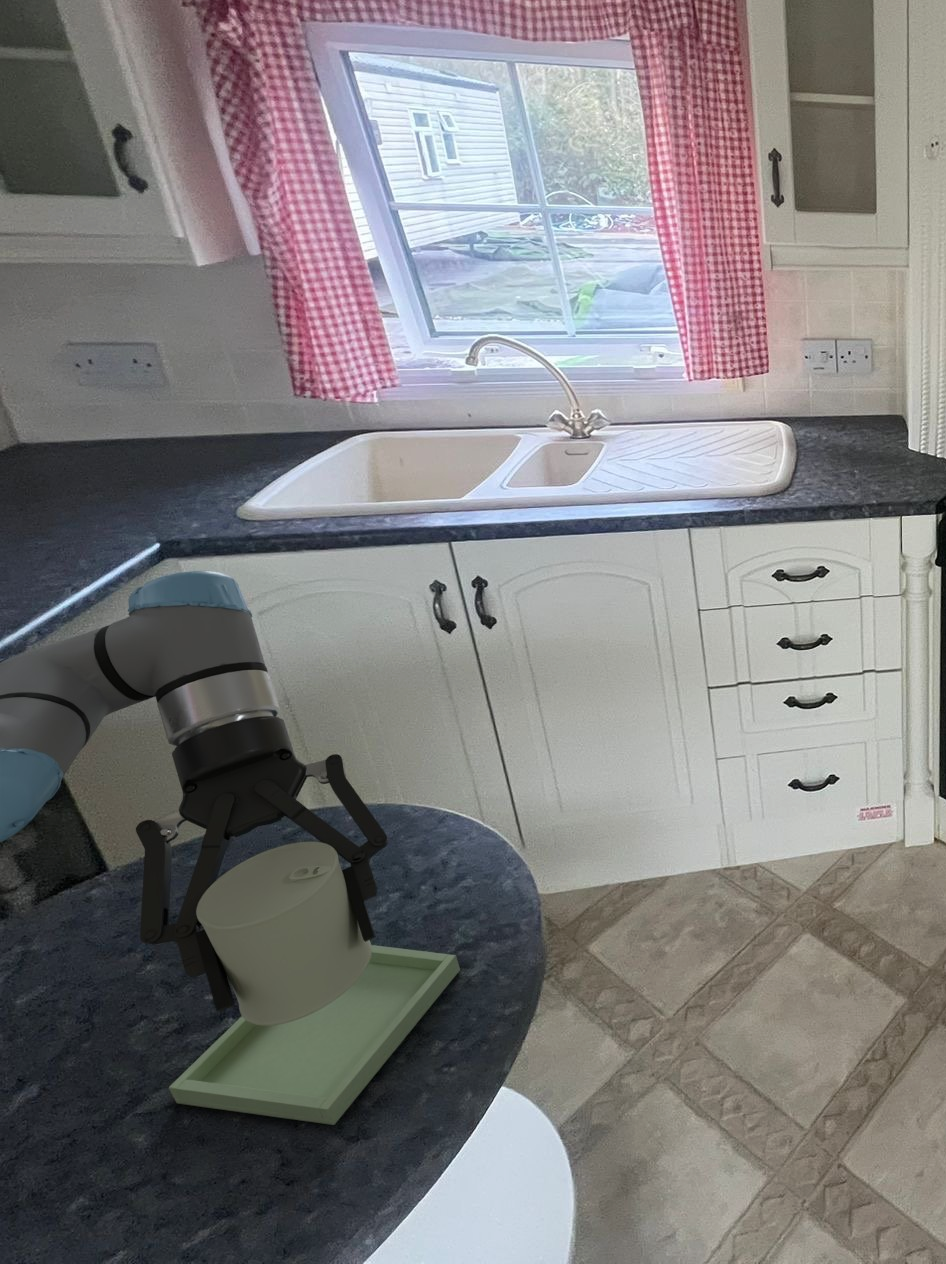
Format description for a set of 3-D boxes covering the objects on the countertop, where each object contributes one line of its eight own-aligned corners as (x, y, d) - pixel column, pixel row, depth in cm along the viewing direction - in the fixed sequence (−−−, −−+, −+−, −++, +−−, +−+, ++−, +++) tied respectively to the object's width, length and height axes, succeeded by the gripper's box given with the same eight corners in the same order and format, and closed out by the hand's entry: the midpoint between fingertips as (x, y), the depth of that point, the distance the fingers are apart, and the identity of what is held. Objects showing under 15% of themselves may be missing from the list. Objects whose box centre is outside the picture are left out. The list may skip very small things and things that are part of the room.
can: (353, 1006, 72) (314, 905, 67) (219, 1041, 68) (168, 938, 64) (385, 921, 79) (352, 825, 75) (266, 949, 76) (224, 851, 72)
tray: (176, 1103, 70) (167, 1087, 69) (326, 953, 84) (320, 938, 83) (334, 1125, 69) (327, 1109, 68) (460, 969, 83) (456, 954, 82)
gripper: (376, 695, 85) (448, 904, 80) (66, 795, 70) (133, 1056, 66) (371, 674, 79) (448, 897, 75) (35, 778, 65) (106, 1061, 60)
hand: (301, 971), depth 70 cm, fingers closed on can, 9 cm apart
